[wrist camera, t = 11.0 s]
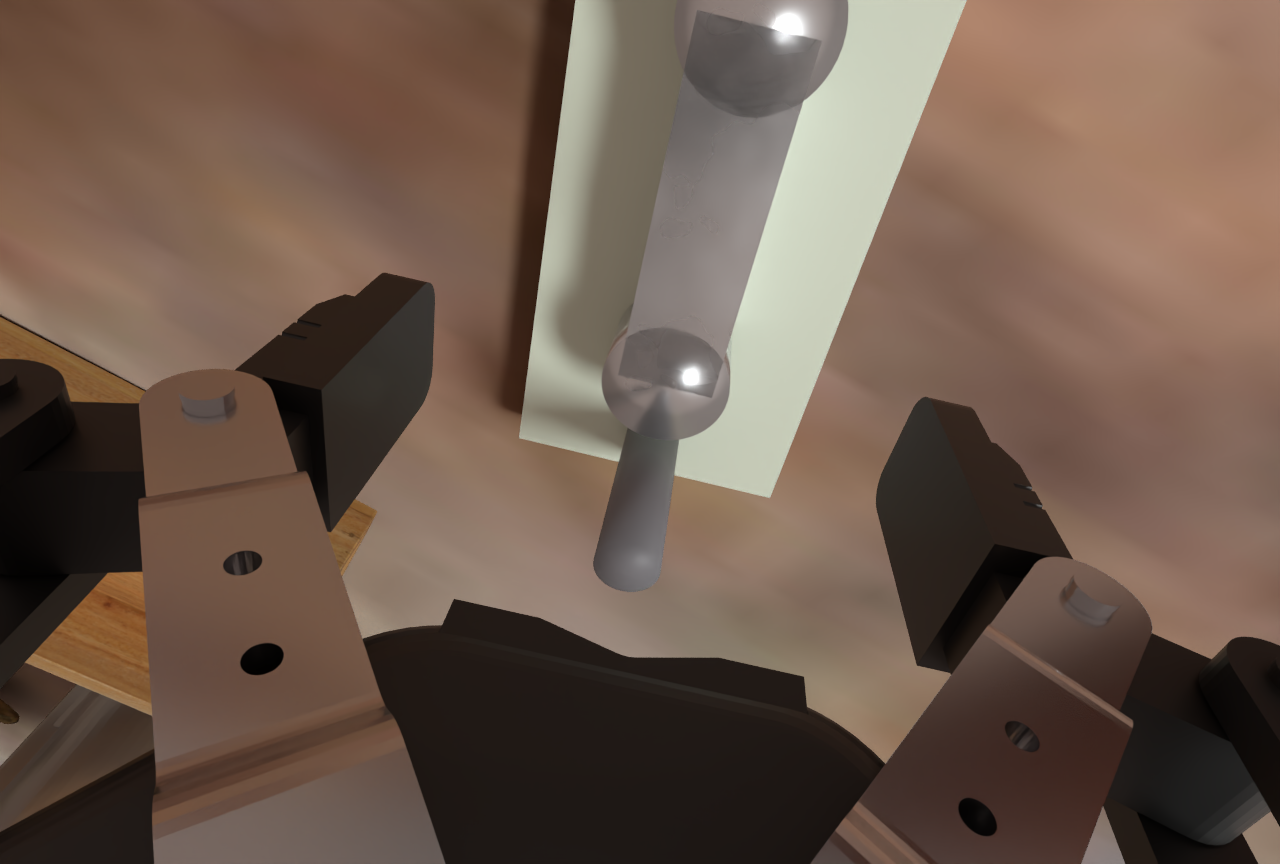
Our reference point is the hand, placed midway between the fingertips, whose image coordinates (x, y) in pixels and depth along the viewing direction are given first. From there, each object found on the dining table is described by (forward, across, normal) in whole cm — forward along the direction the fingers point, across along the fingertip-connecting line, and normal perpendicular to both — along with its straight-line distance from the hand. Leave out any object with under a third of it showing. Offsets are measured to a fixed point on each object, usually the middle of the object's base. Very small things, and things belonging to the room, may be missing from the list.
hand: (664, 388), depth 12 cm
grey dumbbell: (+12, 0, 0) cm, 12 cm away
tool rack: (+14, 0, 0) cm, 14 cm away
